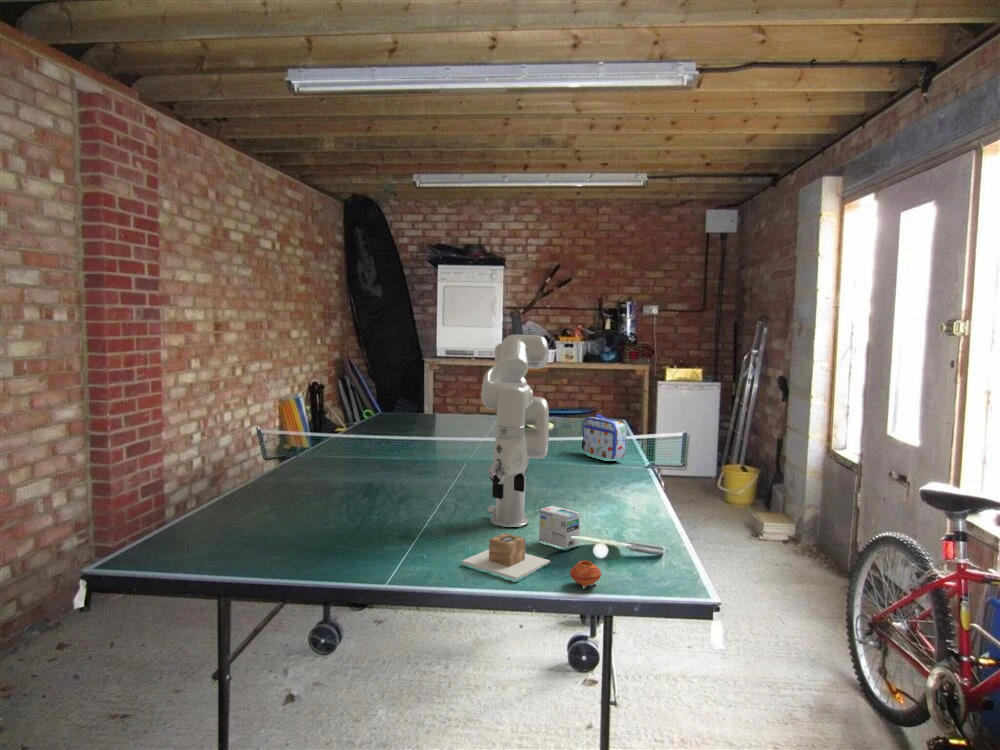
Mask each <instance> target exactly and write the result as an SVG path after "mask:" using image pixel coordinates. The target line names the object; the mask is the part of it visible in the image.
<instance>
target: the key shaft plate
mask: <svg viewBox="0 0 1000 750" xmlns="http://www.w3.org/2000/svg"><path fill="white" fill-rule="evenodd" d="M511 540H513V538H510V537H507V538H504V539H502V540H501V541H504V542H509V541H511ZM548 563H550V564H551V560H549V559H546V558H543V557H540V556H535V555H532V554H529V553H526V552H525V560H524V561H521V562H519V563H517V564H515V565H513V566H511V567H508V566H504V565H501V564H498V563H494V562H491V561H489V549H486V550H484V551H481V552H479V553H477V554H475V555H472V556H469V557H468V558H464V559H463V560H462V561H461V565H462V564H465V565H469V566H472V567H475V568H478V569H482V570H486V571H489V572H492V573H495V574H499V575H502V576H505V577H509V578H513V579H516V580H517V579H519V578H521V577H523V576H526V575H528V574H530V573H532V572H534V571H536V570H537V569H539V568H541V567H542V566H544V565H547V564H548Z"/></svg>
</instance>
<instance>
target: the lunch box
mask: <svg viewBox="0 0 1000 750" xmlns="http://www.w3.org/2000/svg"><path fill="white" fill-rule="evenodd" d="M626 426H627V425H625V423H623V422H621V421H618V420H615V419H612V418H608V417H605V416H604V415H602V414H596V415H595V416H588V417H586V418H585V419H584V420H583V423H582V431H581V432H582V442H581V449H582V452H583V451H584V452H587V453H591V454H594V455H597V456H600V457H604V458H609V459H616V458H624V459H625V457H626V448H627V447H626V446H627V436H628V435H627V434H628V432H627V431H628V430H627V427H626ZM584 452H583V453H584Z"/></svg>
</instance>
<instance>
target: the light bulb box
mask: <svg viewBox="0 0 1000 750" xmlns="http://www.w3.org/2000/svg"><path fill="white" fill-rule="evenodd" d="M580 524H581V512H580V511H575V510H570V509H566V508H563V507H559V506H556V505H550V506H546V507H542V508H540V509H539V524H538V525H539V527H538V529H539V530H538V542H539V541H542V542H546V543H550V544H553V545H557V546H561V547H564V548H568V547H571V546H574V545H577V544H578V543H579V544H580V540H579V541H577V540H575V539H572V538H571V536H579V537H580V530H581V529H580V526H581V525H580Z"/></svg>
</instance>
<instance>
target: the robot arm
mask: <svg viewBox="0 0 1000 750" xmlns="http://www.w3.org/2000/svg"><path fill="white" fill-rule="evenodd" d="M548 357H549V344H548V341H547V339H546V338H545V337H544V336H543V335H539V334H511V335H508V336H506V337H505V338H504V339H503V340H502V342H501V343H498V344H497V345H496V346H495V347H494V362H495V364H494V365H492V367H490V368H489V369H488V370H487V371H486V372H485V374H484V376H483V380H482V385H481V392H480V393H481V394H480V396H481V397H480V398H481V403H482V404H483V406H484V407H485V408H487V409H489V410H496V434H495V438H494V439H495V440H494V441H495V442H494V449H493V463H492V464H491V466H490V467H489V468H488V469H487V472H488V475H489V479H490V482H491V483H492V498H493V499H495V506H494V505H489V506H488V508H487V510H486V512H487V513H489V514H492V517H491V518H490V524H492V523H493V524H495V525H498V526H509V527H510V526H511V527H513V526H522V525H525V524H527V523H528V522H529V523H530V521H529V519H528V517H526V516H525V502H526V501H525V500H526V498H525V496H526V476H527V471H528V468H529V463H530V459H543V458H545V457H546V456H547V455H548V452H549V451H548V450H549V433H550V431H549V429H550V428H549V427H550V425H549V423H550V421H549V419H550V417H549V416H550V414H549V413H550V410H549V404H548V401H547V400H546V399H545V398H544V397H541V396H534V393H533V389H531V386H530V385H529V384H528V382H527V379H526V378H525V376H526V375H527V374H528V371H529V369H531V370H532V369H533V370H535V369H536V370H538V369H539V370H541V369H543V368H545V367H546V365H547V363H548V362H547V361H548ZM526 426H533V427H534V428H532V429H531V428H525V427H526ZM529 523H528V524H529ZM493 524H492V525H493ZM495 525H494V526H495ZM498 526H497V527H498Z"/></svg>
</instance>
